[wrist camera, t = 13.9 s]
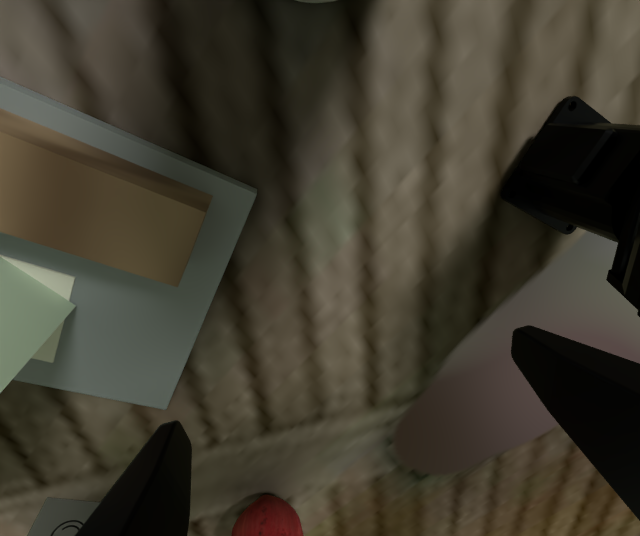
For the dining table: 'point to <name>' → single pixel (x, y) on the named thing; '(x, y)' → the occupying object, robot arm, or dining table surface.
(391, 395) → the dining table surface
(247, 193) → the board
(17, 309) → the post
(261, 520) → the onion
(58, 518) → the dice cube
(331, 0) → the fruit juice
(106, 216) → the beam
